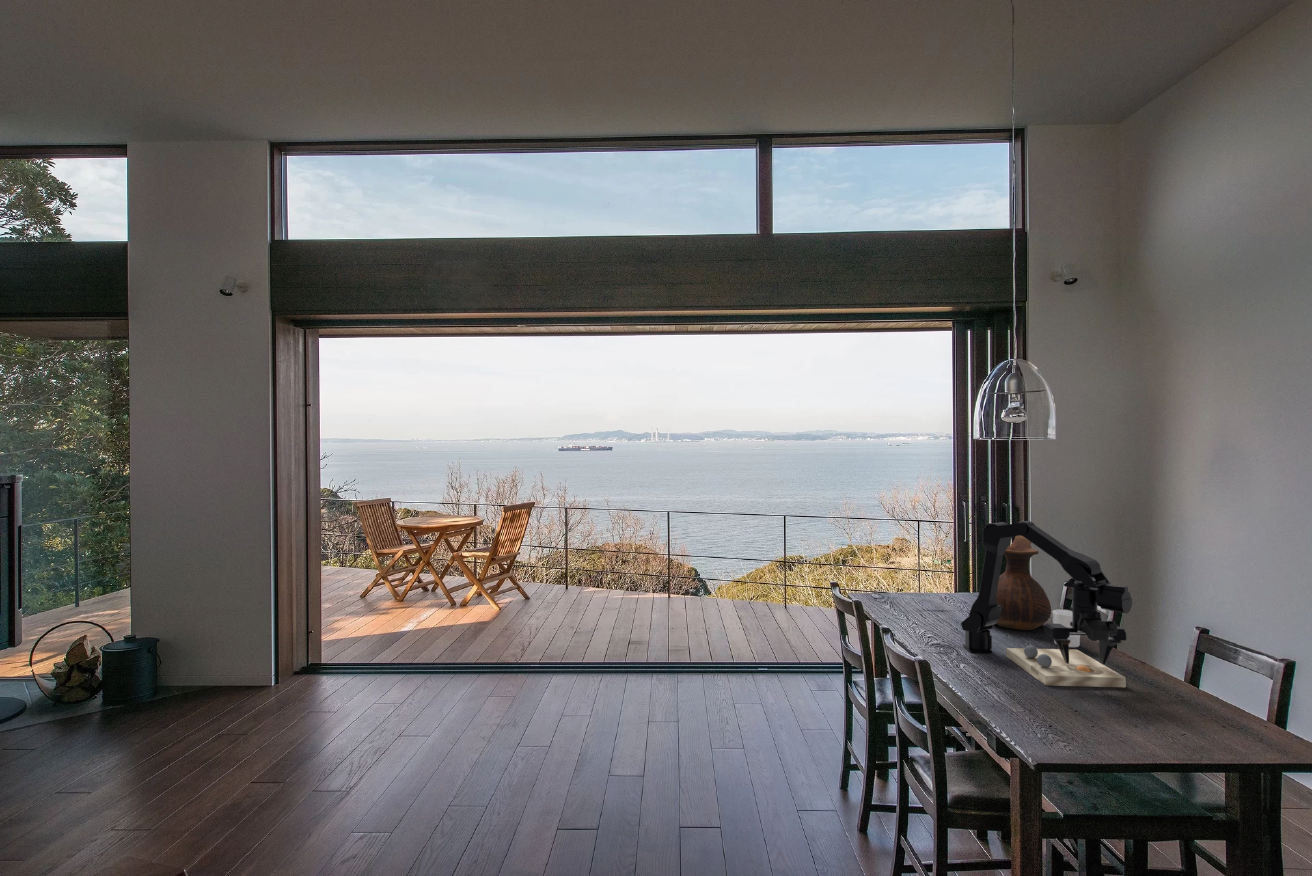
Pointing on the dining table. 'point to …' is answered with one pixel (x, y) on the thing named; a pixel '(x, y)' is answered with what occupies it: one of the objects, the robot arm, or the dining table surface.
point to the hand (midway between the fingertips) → (1084, 663)
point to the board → (1067, 669)
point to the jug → (1021, 590)
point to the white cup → (1066, 625)
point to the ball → (1083, 668)
